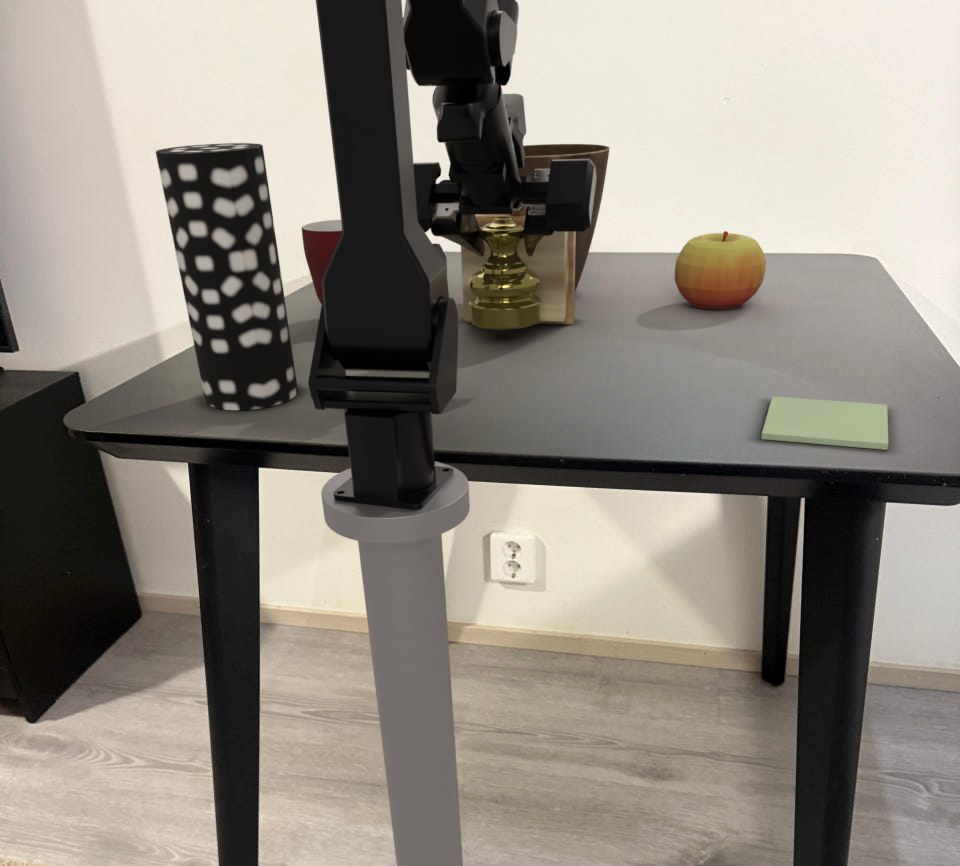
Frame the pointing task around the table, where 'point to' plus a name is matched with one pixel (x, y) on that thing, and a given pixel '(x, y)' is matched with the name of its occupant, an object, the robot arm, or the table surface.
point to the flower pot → (599, 156)
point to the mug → (320, 249)
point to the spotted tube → (230, 272)
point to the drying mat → (827, 422)
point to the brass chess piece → (504, 281)
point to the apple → (720, 270)
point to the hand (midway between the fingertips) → (507, 252)
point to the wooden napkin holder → (548, 261)
